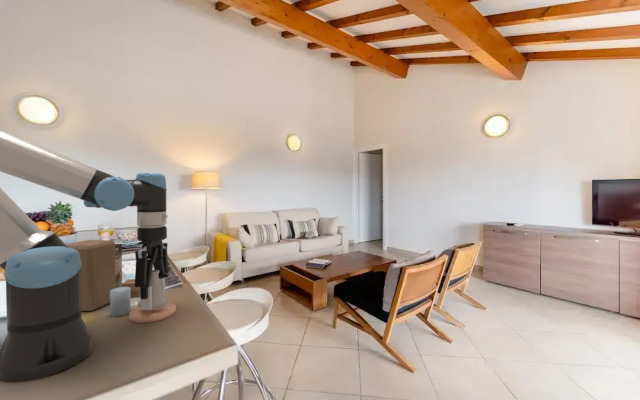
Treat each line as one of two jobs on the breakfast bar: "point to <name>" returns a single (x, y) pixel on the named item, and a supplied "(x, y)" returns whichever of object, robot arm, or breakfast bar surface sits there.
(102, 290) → the block
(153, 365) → the breakfast bar surface
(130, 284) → the walnut cube
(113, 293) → the blue-grey cylinder
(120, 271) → the coffee box
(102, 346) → the breakfast bar surface
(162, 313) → the terracotta plate
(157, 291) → the flask
